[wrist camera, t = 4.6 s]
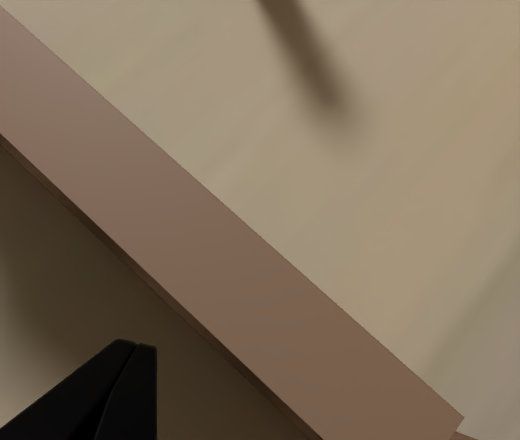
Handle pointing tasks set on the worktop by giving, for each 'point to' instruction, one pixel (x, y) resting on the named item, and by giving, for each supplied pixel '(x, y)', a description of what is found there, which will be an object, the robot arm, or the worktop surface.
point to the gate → (209, 256)
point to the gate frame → (315, 439)
